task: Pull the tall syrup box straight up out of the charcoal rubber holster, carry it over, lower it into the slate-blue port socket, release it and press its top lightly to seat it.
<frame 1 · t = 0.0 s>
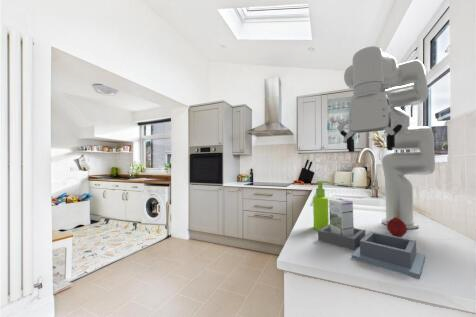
hand: (369, 151, 60), 31 cm above the counter, tool pointing down, fingers open, 9 cm apart
soap dispenser: (322, 228, 87), on the counter
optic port: (388, 257, 60), on the counter
onion: (396, 238, 75), on the counter
syrup box: (341, 240, 74), resting in holster
holster: (341, 240, 74), on the counter
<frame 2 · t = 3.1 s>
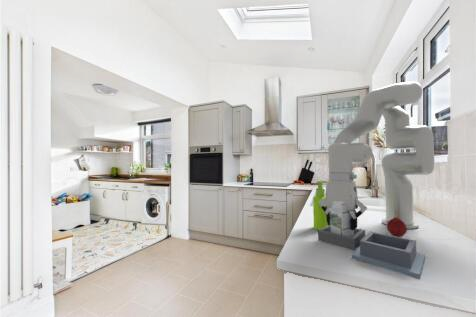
hand: (341, 226, 74), 5 cm above the counter, tool pointing down, fingers closed on syrup box, 7 cm apart
syrup box: (341, 240, 74), resting in holster, touching gripper
everything else where it was.
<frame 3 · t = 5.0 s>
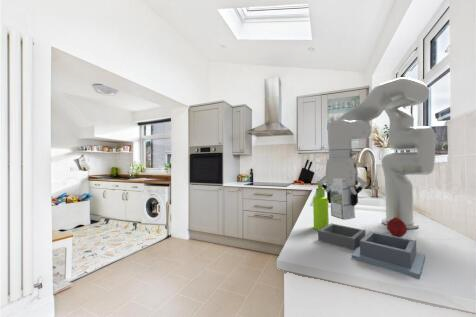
hand: (342, 203, 74), 13 cm above the counter, tool pointing down, fingers closed on syrup box, 7 cm apart
syrup box: (342, 217, 74), point 8 cm above the counter, touching gripper
everything else where it was.
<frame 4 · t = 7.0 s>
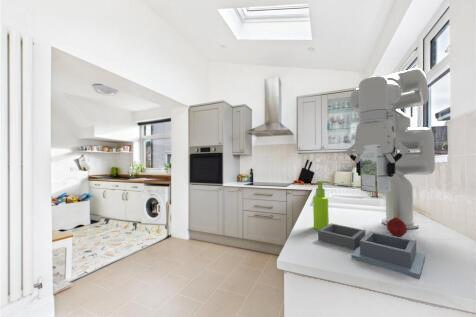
hand: (375, 175, 63), 24 cm above the counter, tool pointing down, fingers closed on syrup box, 7 cm apart
syrup box: (375, 192, 63), point 19 cm above the counter, touching gripper
everything else where it was.
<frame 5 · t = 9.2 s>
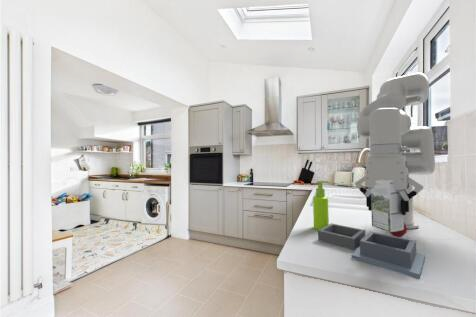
hand: (386, 211, 60), 13 cm above the counter, tool pointing down, fingers closed on syrup box, 7 cm apart
syrup box: (387, 229, 60), point 8 cm above the counter, touching gripper
everything else where it was.
when the fingers open (7 cm above the counter, at t = 11.0 s): syrup box drops 1 cm, resting on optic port.
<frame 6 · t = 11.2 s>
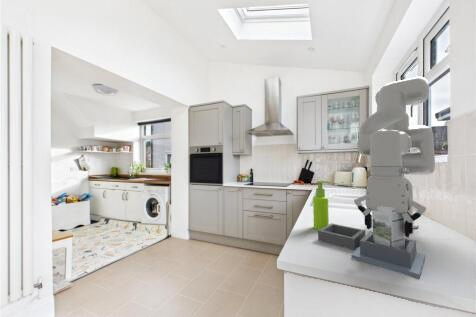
hand: (387, 231, 60), 8 cm above the counter, tool pointing down, fingers open, 8 cm apart
syrup box: (388, 255, 60), point 1 cm above the counter, touching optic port
everything else where it was.
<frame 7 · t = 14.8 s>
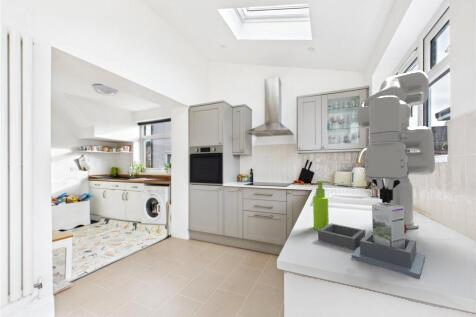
hand: (386, 202, 60), 16 cm above the counter, tool pointing down, fingers closed
nothing on the counter moved.
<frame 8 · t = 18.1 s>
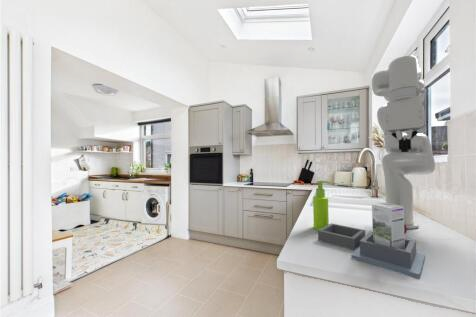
hand: (405, 151, 67), 31 cm above the counter, tool pointing down, fingers closed
nothing on the counter moved.
at the end: syrup box 0.3 cm off-centre on the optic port, point 0.8 cm above the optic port's base; syrup box tilted 0°; the gripper is holding nothing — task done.
